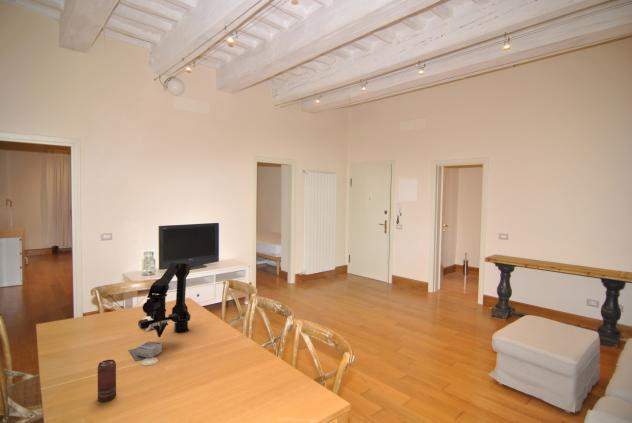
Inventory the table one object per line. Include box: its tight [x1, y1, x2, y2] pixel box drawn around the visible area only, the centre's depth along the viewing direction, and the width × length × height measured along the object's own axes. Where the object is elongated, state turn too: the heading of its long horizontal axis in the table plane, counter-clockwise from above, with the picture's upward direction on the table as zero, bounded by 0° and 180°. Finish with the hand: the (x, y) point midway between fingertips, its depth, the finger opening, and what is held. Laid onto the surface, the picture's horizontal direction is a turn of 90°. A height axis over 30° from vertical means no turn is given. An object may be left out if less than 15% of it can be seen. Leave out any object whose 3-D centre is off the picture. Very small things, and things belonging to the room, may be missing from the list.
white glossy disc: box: [141, 356, 159, 367], centre depth 165 cm, size 7×7×1 cm
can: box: [97, 359, 117, 403], centre depth 136 cm, size 6×6×14 cm
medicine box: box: [136, 341, 163, 358], centre depth 172 cm, size 8×4×9 cm
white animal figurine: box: [141, 316, 155, 332], centre depth 204 cm, size 6×8×12 cm
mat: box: [128, 347, 159, 362], centre depth 174 cm, size 10×14×1 cm
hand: (159, 337), depth 178 cm, fingers closed
